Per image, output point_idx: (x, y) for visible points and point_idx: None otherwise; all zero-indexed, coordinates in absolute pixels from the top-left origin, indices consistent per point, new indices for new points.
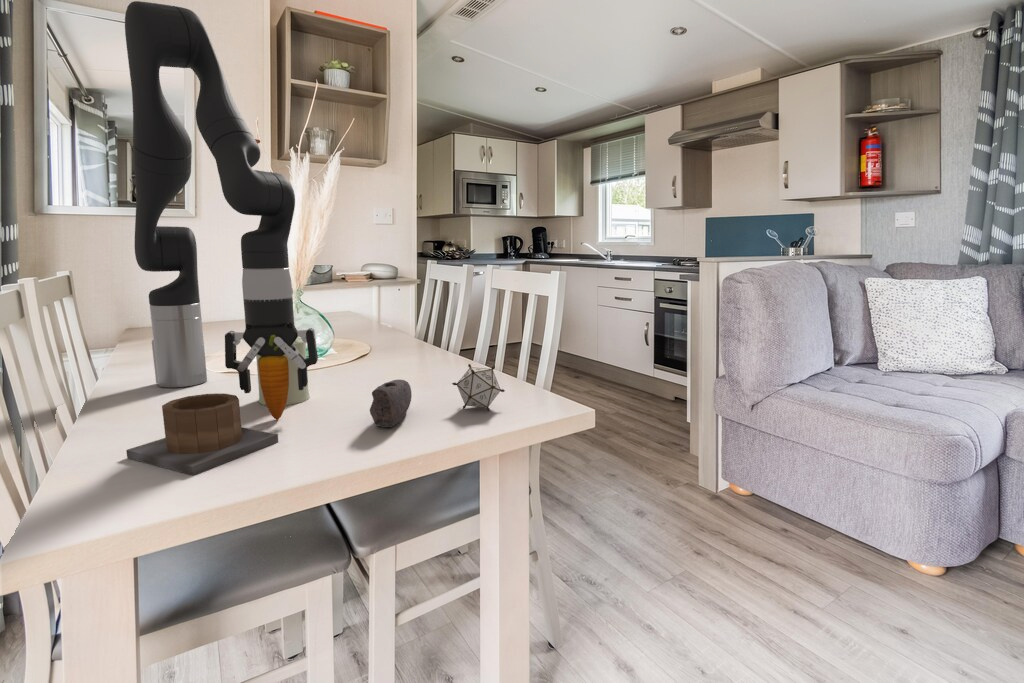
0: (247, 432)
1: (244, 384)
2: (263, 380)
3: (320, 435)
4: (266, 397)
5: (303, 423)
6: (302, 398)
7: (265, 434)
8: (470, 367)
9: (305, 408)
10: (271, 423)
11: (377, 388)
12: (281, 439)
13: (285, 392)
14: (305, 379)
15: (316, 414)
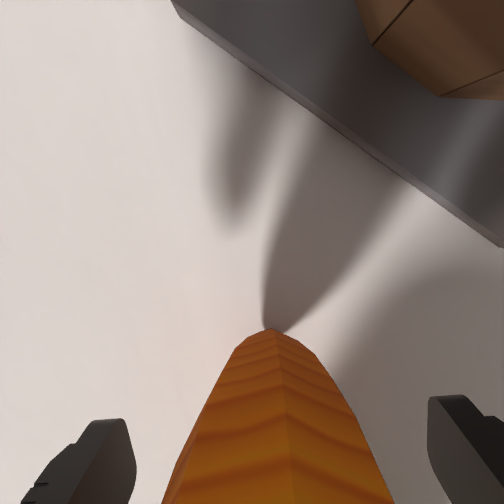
0: (332, 55)
1: (498, 438)
2: (347, 452)
3: (23, 95)
4: (311, 365)
5: (149, 273)
6: None
7: (232, 6)
8: None
9: None
10: (281, 292)
11: None
12: (177, 58)
13: (204, 405)
14: (38, 493)
15: (133, 379)
